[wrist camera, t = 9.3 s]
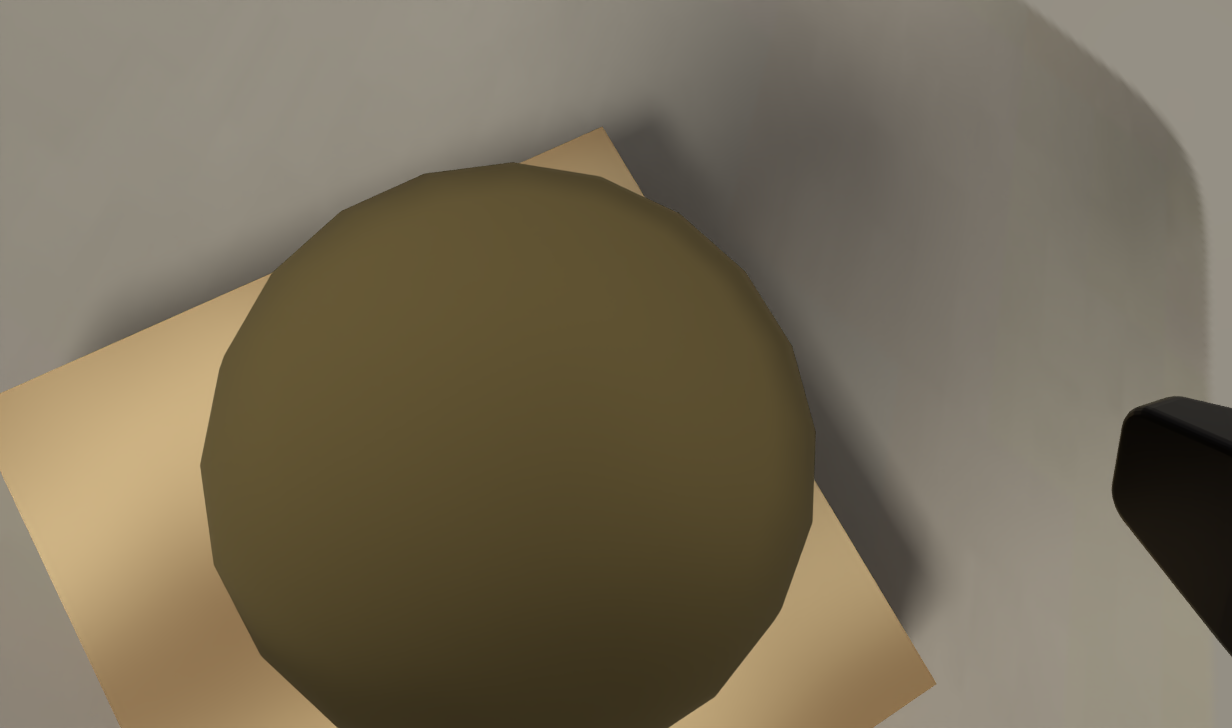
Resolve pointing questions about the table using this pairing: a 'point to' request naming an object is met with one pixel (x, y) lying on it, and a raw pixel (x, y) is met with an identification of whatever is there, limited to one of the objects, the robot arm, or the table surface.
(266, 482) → the cork
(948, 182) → the table surface
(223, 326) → the oak board
